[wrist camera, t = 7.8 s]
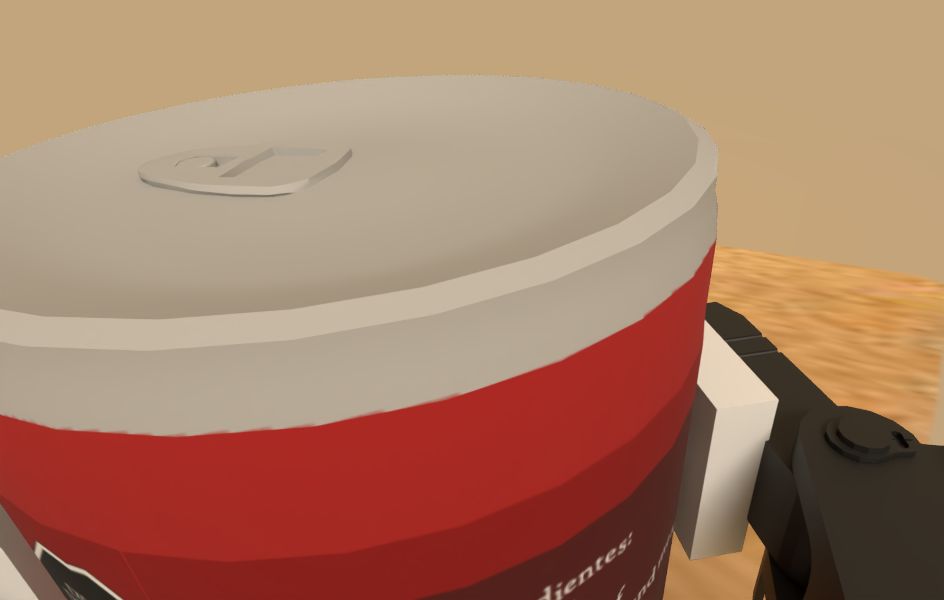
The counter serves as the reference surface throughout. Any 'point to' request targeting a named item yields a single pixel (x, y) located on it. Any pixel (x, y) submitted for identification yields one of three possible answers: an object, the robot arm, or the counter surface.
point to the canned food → (357, 342)
